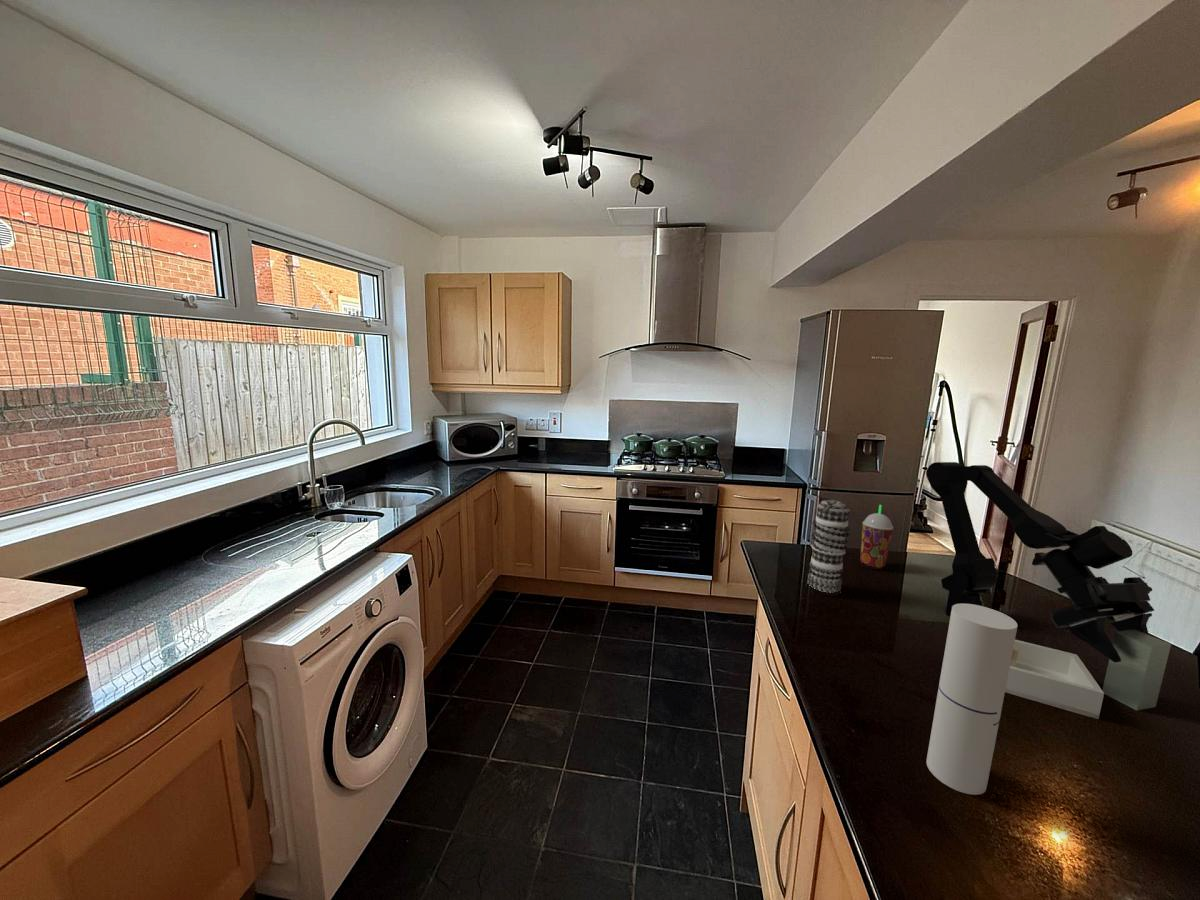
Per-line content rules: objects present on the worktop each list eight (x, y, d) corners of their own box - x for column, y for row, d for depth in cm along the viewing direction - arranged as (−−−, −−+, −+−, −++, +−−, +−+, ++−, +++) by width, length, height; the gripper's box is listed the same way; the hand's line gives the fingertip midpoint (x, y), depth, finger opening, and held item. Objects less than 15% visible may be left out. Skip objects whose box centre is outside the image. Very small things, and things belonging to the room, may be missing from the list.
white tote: (969, 681, 92) (973, 658, 91) (960, 648, 104) (963, 626, 103) (1098, 719, 83) (1104, 693, 82) (1072, 677, 94) (1076, 654, 94)
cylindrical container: (915, 755, 73) (939, 603, 69) (957, 753, 74) (984, 603, 70) (952, 795, 66) (982, 629, 62) (1000, 793, 66) (1032, 629, 63)
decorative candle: (809, 595, 127) (819, 504, 123) (802, 580, 136) (811, 496, 132) (846, 599, 125) (857, 508, 121) (836, 585, 134) (847, 499, 130)
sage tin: (1136, 710, 85) (1151, 646, 83) (1101, 692, 90) (1115, 631, 88) (1155, 706, 87) (1171, 644, 85) (1120, 689, 91) (1134, 629, 89)
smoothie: (884, 564, 151) (892, 503, 148) (890, 574, 143) (899, 510, 140) (854, 559, 154) (862, 500, 150) (859, 569, 146) (868, 506, 143)
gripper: (1081, 564, 88) (1149, 653, 79) (1150, 559, 92) (1222, 642, 83) (1027, 586, 96) (1082, 668, 87) (1092, 580, 101) (1152, 658, 92)
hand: (1135, 659), depth 87 cm, fingers open, 9 cm apart
